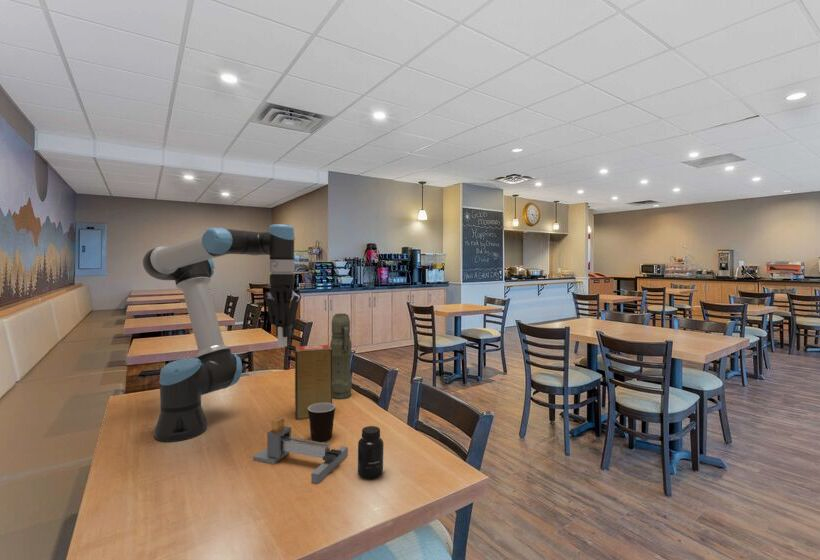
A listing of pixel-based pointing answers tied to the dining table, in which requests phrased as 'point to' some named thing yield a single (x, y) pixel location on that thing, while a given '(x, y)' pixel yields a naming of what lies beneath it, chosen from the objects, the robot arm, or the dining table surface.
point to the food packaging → (312, 377)
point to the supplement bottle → (370, 453)
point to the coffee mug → (321, 421)
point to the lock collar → (276, 437)
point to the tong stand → (317, 473)
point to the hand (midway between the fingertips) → (282, 346)
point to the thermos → (341, 357)
